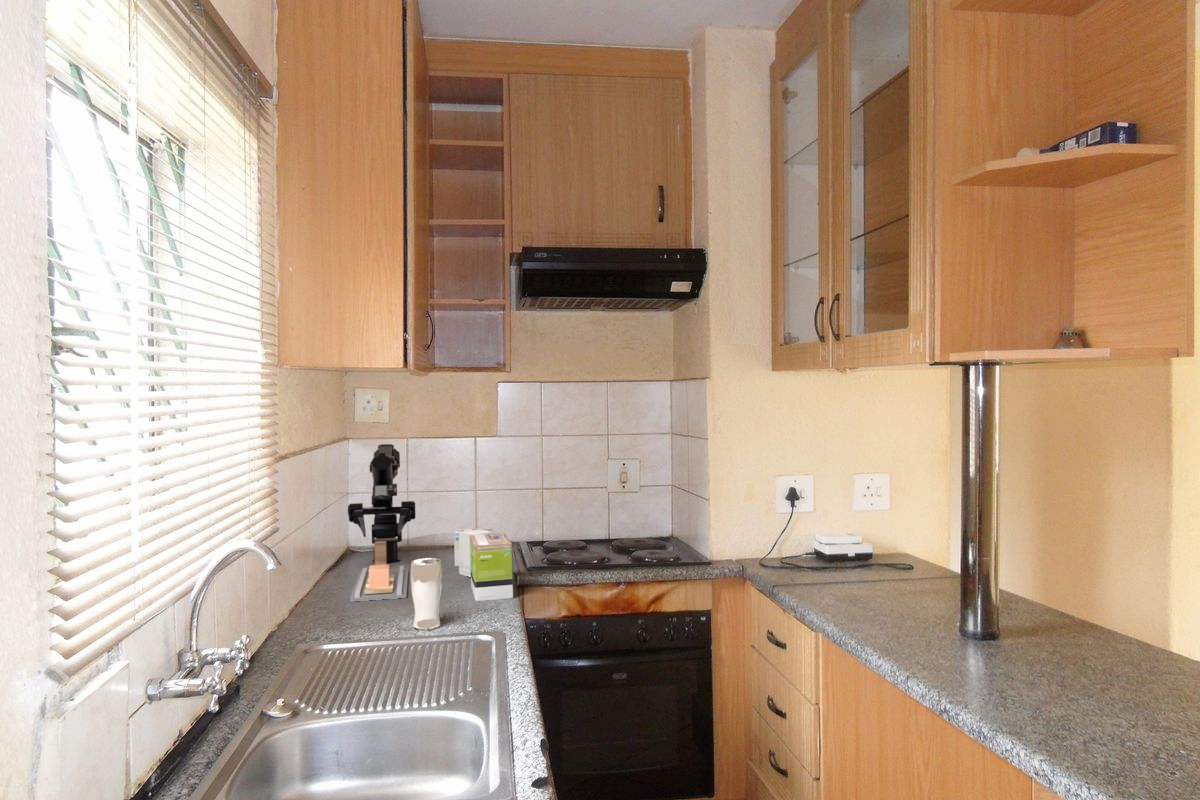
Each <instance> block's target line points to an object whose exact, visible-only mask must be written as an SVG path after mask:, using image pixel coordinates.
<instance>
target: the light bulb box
mask: <svg viewBox="0 0 1200 800" xmlns="http://www.w3.org/2000/svg"><path fill="white" fill-rule="evenodd" d="M476 529H477V528H458V529H456V530H455V531H454V532H453V541H454V542H453V543H454V544H453V549H454V551H453V554H454V567H459V532H461V531H468V530H476ZM481 529H482V530H487V531H492V532H493V528H481Z"/></svg>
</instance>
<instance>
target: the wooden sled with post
mask: <svg viewBox="0 0 1200 800" xmlns="http://www.w3.org/2000/svg"><path fill="white" fill-rule="evenodd" d="M374 548H375V562H374V565H387V564H388V563H387V550H386V541H381V542H375V543H374ZM394 580H395V575H390V584H389V587H388V588H373V589H369V577H368V580H367V584H366V587H365V594H376V593H391V592H393V587H394Z"/></svg>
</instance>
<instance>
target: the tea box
mask: <svg viewBox="0 0 1200 800" xmlns="http://www.w3.org/2000/svg"><path fill="white" fill-rule="evenodd" d="M513 569H514V568H513V543H512V542H511V540H510V539H509V538H508V536H507V535H506V533H505V532H496V533H495V532H494V533H492V534H480V535H470V571H471V578H470V588H471V592H472V594H473V597H474V600H475V602H486V600H490V601H498V600H500V599H501V600H510V599H513V598H514V580H513V579H514V576H513V575H514V574H513V573H514V571H513ZM501 600H500V601H501Z"/></svg>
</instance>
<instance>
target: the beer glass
mask: <svg viewBox="0 0 1200 800" xmlns="http://www.w3.org/2000/svg"><path fill="white" fill-rule="evenodd" d="M441 561H442V560H441V559H440V558H438V557H437V558H435V557H424V558H421V557H420V558H417V559H413V560H411V561H410V563H411V564H410V578H409V579H410V591H411V596H412V603H413V606H414V618H413V624H412V627H415V628H421V629H422V628H423V629H424V628H425V629H426V628H434V627H438V626H440V627H441V625H440V624H441V619H440V613H439V609H440V608H439V607H440V600H441V593H442V586H443V585H442V584H443V573H442V562H441Z"/></svg>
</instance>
